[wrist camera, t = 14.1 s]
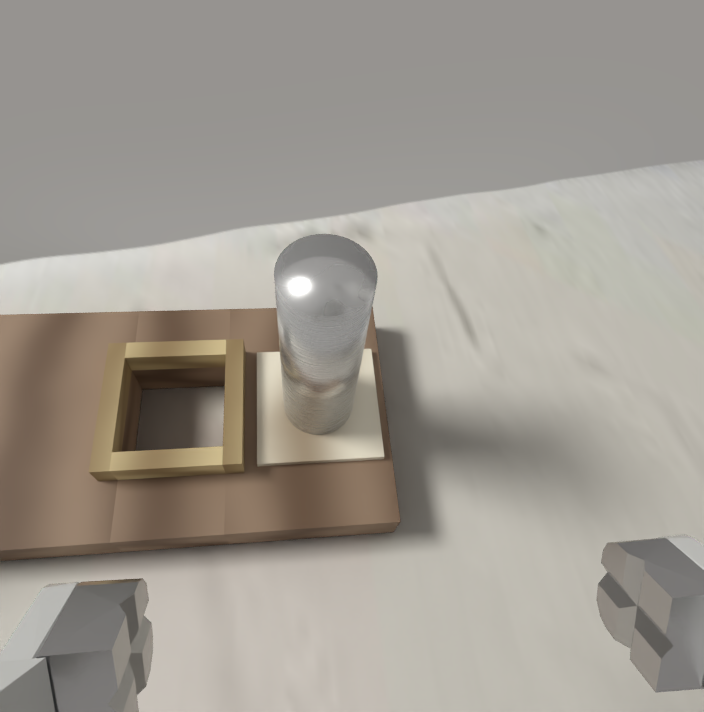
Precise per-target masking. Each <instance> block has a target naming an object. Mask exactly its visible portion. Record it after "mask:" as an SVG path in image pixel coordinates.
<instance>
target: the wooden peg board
mask: <svg viewBox="0 0 704 712" xmlns="http://www.w3.org/2000/svg"><path fill="white" fill-rule="evenodd" d="M211 386H225V394H224V427H223V446H220V447H201V448H182V449H163V450H145V451H135V450H136V441H137V432H138V424H139V415H140V406H141V397H142V389H162V388H187V387H211ZM399 523H400V514H399V507H398V499H397V491H396V484H395V476H394V468H393V460H392V453H391V445H390V437H389V430H388V422H387V414H386V407H385V399H384V391H383V384H382V376H381V368H380V360H379V353H378V345H377V337H376V330H375V322H374V314H373V307H372V310H371V315H370V320H369V325H368V330H367V336H366V341H365V346H364V351H363V356H362V361H361V366H360V371H359V377H358V382H357V387H356V392H355V397H354V402H353V407H352V412H351V414H350V417H349V419H348V420H347V421H346V423H345V424H344V425H343V426H342V427H341V428H339V429H338V430H336V431H334V432H332V433H329V434H324V435H313V434H308V433H305V432H303V431H301V430H299V429H297V428H296V427H295V426H294V425H293V424H292V423H291V422H290V421H289V419H288V418H287V416H286V413H285V410H284V402H283V389H282V375H281V361H280V347H279V333H278V320H277V308H263V309H222V310H181V311H140V312H99V313H58V314H17V315H0V561H8V560H22V559H35V558H49V557H63V556H76V555H90V554H103V553H117V552H130V551H144V550H157V549H171V548H184V547H198V546H211V545H225V544H238V543H252V542H265V541H279V540H292V539H306V538H320V537H333V536H347V535H360V534H374V533H387V532H394V530H395V529H396V528H397V526H398V525H399Z"/></svg>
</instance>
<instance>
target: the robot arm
mask: <svg viewBox="0 0 704 712" xmlns="http://www.w3.org/2000/svg"><path fill="white" fill-rule="evenodd" d="M601 563H602V565H603V566H604V568H605V569H606V571H607V574H606V575H605V576H604V577H603V578H602V580H601V581H600V582H599V583H598V591H597V604H598V608H599V613H600V617H601V619H602V621H603V623H604V625H605V627H606V629H607V630H608V632H609V633H610V634H611V636H612V637H613V638H614V639H615V640H616V641H618V642H620V643H622V644H623V645H625V646H627V647H629V648H630V660H631V662H632V663H633V664H634V666H635V667H636V668H637V669H638V671H639V672H640V673H641V674H642V676H643V677H644V678H645V680H646V681H647V682H648V683H649V685H650V686H651V687H652V689H653V690H654V691H655V692H667V691H679V690H692V689H704V545H703V544H701V543H700V542H699V541H698V540H696V539H695V538H693V537H691V536H688V535H676V536H667V537H659V538H656V539H645V540H633V541H622V542H610V543H607V544H606V546H605V548H604V549H603V553H602V560H601ZM148 601H149V597H148V591H147V584H146V582H145V581H144V579H143V578H142V579H124V580H107V581H89V582H81V583H78V582H74V583H61V584H49V585H47V586H45V587H44V588H42V589H41V590H40V592H39V594H38V595H37V597H36V598H35V600H34V601H33V603H32V604H31V606H30V608H29V609H28V611H27V612H26V614H25V615H24V617H23V618H22V620H21V622H20V623H19V625H18V626H17V628H16V629H15V631H14V632H13V634H12V636H11V637H10V639H9V640H8V642H7V643H6V645H5V646H4V648H3V650H2V651H1V653H0V712H139V709H138V701H137V695H138V694H139V693H140V692H141V691H142V690H143V689H144V688H145V687H146V685H147V681H148V677H149V674H150V669H151V662H152V654H153V632H152V623H151V622H150V621H149V620H148V619H147V618H146V617H145V616H144V613H145V610H146V607H147V604H148Z"/></svg>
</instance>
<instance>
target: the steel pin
mask: <svg viewBox="0 0 704 712" xmlns="http://www.w3.org/2000/svg"><path fill="white" fill-rule="evenodd" d="M274 278H275V292H276V306H277V320H278V333H279V347H280V361H281V375H282V389H283V402H284V410H285V413H286V416H287V418H288V419H289V421H290V422H291V423H292V424H293V425H294V426H295V427H296V428H297V429H299V430H301V431H303V432H305V433H308V434H313V435H324V434H329V433H332V432H334V431H336V430H338V429H339V428H341V427H342V426H343V425H344V424H345V423H346V421H347V420H348V419H349V417H350V414H351V412H352V407H353V402H354V397H355V392H356V387H357V382H358V377H359V371H360V366H361V361H362V356H363V351H364V346H365V341H366V336H367V330H368V325H369V320H370V315H371V310H372V305H373V300H374V295H375V290H376V284H377V270H376V266H375V263H374V261H373V259H372V258H371V256H370V255H369V253H368V252H367V251H366V250H365V249H364V248H363V247H361V246H360V245H359V244H357V243H355V242H354V241H352V240H350V239H347V238H344V237H341V236H337V235H331V234H316V235H310V236H307V237H303V238H301V239H298V240H297V241H295V242H293V243H291V244H290V245H289V246H288V247H286V248H285V249H284V250H283V252H282V253H281V254H280V256H279V257H278V259H277V262H276V265H275V270H274Z"/></svg>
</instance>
